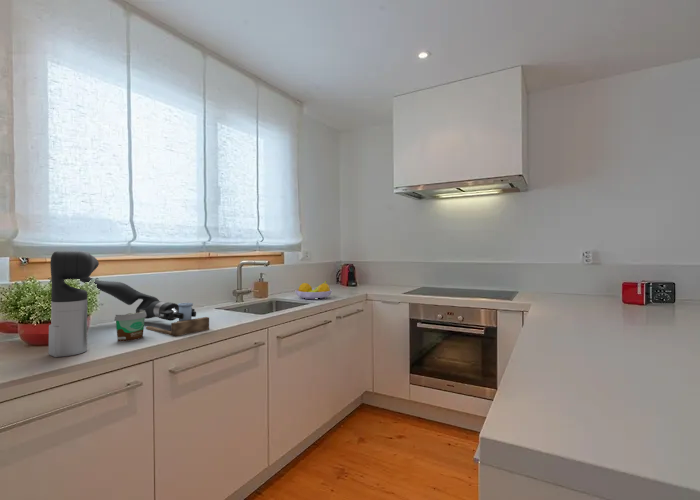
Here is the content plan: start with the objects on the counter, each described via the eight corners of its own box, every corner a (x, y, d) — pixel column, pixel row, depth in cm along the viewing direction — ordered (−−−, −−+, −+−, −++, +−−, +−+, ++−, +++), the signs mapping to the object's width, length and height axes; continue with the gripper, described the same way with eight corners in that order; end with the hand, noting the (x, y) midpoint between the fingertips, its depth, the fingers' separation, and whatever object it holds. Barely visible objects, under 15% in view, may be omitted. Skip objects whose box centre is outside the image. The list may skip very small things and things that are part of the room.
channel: (174, 336, 136) (174, 323, 136) (146, 329, 148) (146, 317, 148) (209, 329, 149) (209, 317, 149) (180, 322, 161) (180, 312, 161)
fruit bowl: (309, 302, 228) (310, 284, 228) (287, 297, 248) (287, 281, 248) (342, 298, 247) (342, 282, 247) (319, 294, 267) (319, 279, 267)
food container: (128, 343, 126) (128, 315, 126) (114, 342, 127) (114, 315, 127) (154, 335, 138) (154, 310, 138) (140, 334, 139) (140, 309, 139)
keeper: (182, 332, 142) (182, 305, 142) (174, 330, 145) (175, 304, 145) (195, 329, 146) (195, 303, 146) (187, 328, 149) (187, 302, 149)
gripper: (150, 304, 148) (172, 308, 138) (182, 300, 159) (204, 304, 150) (149, 322, 148) (172, 327, 138) (182, 316, 159) (204, 321, 150)
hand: (188, 315), depth 144 cm, fingers closed on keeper, 5 cm apart
